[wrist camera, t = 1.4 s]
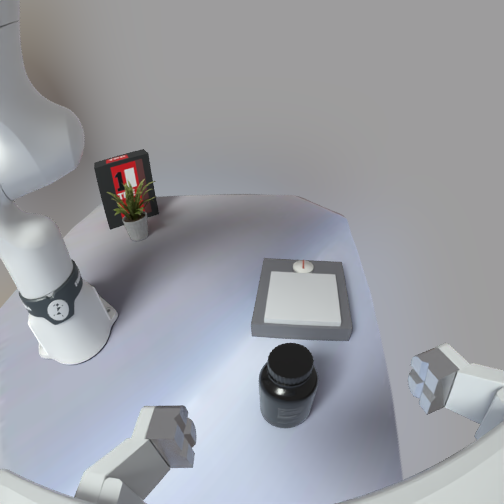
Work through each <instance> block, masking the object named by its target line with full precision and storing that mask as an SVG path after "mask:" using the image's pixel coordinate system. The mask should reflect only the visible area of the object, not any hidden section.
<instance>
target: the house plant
mask: <svg viewBox="0 0 504 504" xmlns="http://www.w3.org/2000/svg"><path fill="white" fill-rule="evenodd" d="M144 180H145V179H144ZM144 180H142V181H141V183H140V184H139V186H138V189H137V191H136V196H135V198H134V194H133V191H134V190H135V189H134V190H133V189H132V186H131V184H130V182H129V181H128V179H127V181H128V184H129V187H128V185H127V183H125V185H124V184H123V185H124V187H125V195H126V204H127V206H126V205H125V204H124V202H123V201H122V200H121V199H120V198H119V197H118V196H117V195H115V194H112V193H110V192H107V193H109V194H111V195H112V196H113V197H114V198H116V199H117V200H118V201H117V200H115V199H113V200H115V201H117V202H118V203H117V202H116V203H117V204H118V207H119V208H120V209H119V208H116V209H114V211H117V212H116V214H119V213H122V214H124V215H125V216H124V217H123V219H122V221H123V223H124V225H125V227H126V229H127V232H128V234H129V236H130V238H131V240H132V241H141V240H143V239H145V238H146V237H147V236H148V223H147V213H146V212H145V211H143V209H144V208H145V206H146V205H147V203H148V202H149V201H150V200H151V199H152V198H151V199H146V200H144V201H142V199H141V198H140V196H141V194H142V192H143V190H144V189H145V188H146V187H147V186H148V185H149V184H150V183H153V182H150V183H148V184H147V185H146V186H145V187H144V188H143V189H142V191H141V192H140V190H141V188H142V185H143V184H144V183H143V181H144ZM154 182H155V181H154ZM149 190H152V189H149ZM149 190H147V191H146V192H148V191H149ZM146 192H145V193H144V195H145V194H146ZM144 195H143V196H144ZM142 198H143V197H142ZM153 198H155V197H153ZM111 199H112V198H111ZM134 199H135V202H134ZM148 200H149V201H148ZM140 201H142V202H140ZM146 201H148V202H147V203H146V204H145V206H144V207H141V205H142V204H143V203H144V202H146ZM153 201H154V200H153ZM119 203H120V204H121V205H122V206H123V207H124V208H125V209H126V210H127V211H128V212H129V213H128V212H127V211H126V210H125V209H124V208H123V207H122V206H121V205H120V204H119ZM139 203H141V204H139ZM140 207H141V208H140ZM116 214H115V215H116Z"/></svg>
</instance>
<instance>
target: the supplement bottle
mask: <svg viewBox="0 0 504 504" xmlns="http://www.w3.org/2000/svg"><path fill="white" fill-rule="evenodd" d="M313 362H314V360H313V356H312V354H311V353H310V351H309V350H308V349H307V348H306V347H304V346H303V345H300V344H296V343H285V344H281V345H278V347H275V349H273V350H272V352H271V353H270V355H269V356H268V362H267V363H266V364H265V365H264V366H263V367H262V369H261V371H260V374H259V395H260V409H261V413H262V415H263V417H264V419H265V420H266V421H267V422H268V423H270V424H271V425H273V426H275V427H279V428H291V427H295V426H297V425H299V424H301V423H302V422H303V421H305V419H306V418H307V417H308V415H309V413H310V410H311V407H312V404H313V400H314V397H315V394H316V390H317V386H318V381H319V377H318V372H317V370H316V368H315V366H314V365H313Z"/></svg>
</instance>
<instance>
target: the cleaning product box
mask: <svg viewBox="0 0 504 504" xmlns="http://www.w3.org/2000/svg"><path fill="white" fill-rule="evenodd" d="M94 169H95V173H96V178H97V182H98V186H99V190H100V194H101V198H102V202H103V206H104V210H105V213H106V217H107V221H108V224H109V227H110V229H113V228H116V227H119V226H122V225H124V223H123V221H122V219H123V217H124V216H125V215H124V214H122V213H119V214H116V212H117V211H114V209H116V208H119V207H118V204H117V203H118V202H117V201H118V200H117V199H116V198H114V197H113V196H112V195H111V194H109V193H107V192H110V193H112V194H115V195H117V196H118V197H119V198H120V199H121V200H122V201H123V202H124V204H125V205H126V206H127V204H126V195H125V187H124V185H125V183H127V185H128V187H129V184H128V181H129V182H130V184H131V186H132V189H133V190H134V189H135V190H134V191H133V194H134V198H135V196H136V191H137V189H138V186H139V184H140V183H141V181H142V180H144V179H145V180H144V181H143V183H144V184H143V185H142V188H141V190H140V192H141V191H142V189H143V188H144V187H145V186H146V185H147V184H148V183H150V182H153V180H152V174H151V169H150V162H149V156H148V153H147V152H146V151H145V150H144V149H143V150H139V151H135V152H130V153H127V154H123V155H120V156H116V157H112V158H109V159H106V160H102V161H99V162H96V163H95V167H94ZM127 179H128V181H127ZM123 184H124V185H123ZM149 189H152V190H149ZM147 190H149V191H148V192H146V191H147ZM145 192H146V194H145V195H144V193H145ZM143 195H144V196H143ZM142 197H143V198H142ZM153 197H155V198H153ZM111 198H112V199H111ZM140 198H141V199H142V201H144V200H146V199H151V198H152V199H151V200H150V201H149V200H148V201H149V202H148V201H146V202H144V203H143V204H142V205H141V207H144V206H145V204H146V203H147V202H148V203H147V205H146V206H145V208H144V209H143V211H145V212H146V213H147V218H148V217H151V216H154V215H157V214H159V212H158V207H157V202H156V196H155V191H154V186H153V183H150V184H149V185H148V186H147V187H146V188H145V189H144V190H143V192H142V194H141V196H140ZM113 199H115V200H117V201H115V200H113ZM153 200H154V201H153ZM142 201H140V202H142ZM116 202H117V203H116ZM134 202H135V199H134ZM119 204H120V203H119ZM139 204H141V203H139ZM120 205H121V204H120ZM121 206H122V205H121ZM122 207H123V206H122ZM141 207H140V208H141ZM123 208H124V207H123ZM119 209H120V208H119ZM124 209H125V208H124ZM125 210H126V209H125ZM126 211H127V210H126ZM127 212H128V211H127ZM128 213H129V212H128ZM115 214H116V215H115Z"/></svg>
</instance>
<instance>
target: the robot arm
mask: <svg viewBox="0 0 504 504" xmlns="http://www.w3.org/2000/svg"><path fill="white" fill-rule="evenodd" d="M19 3H20V1H19V0H0V258H1V260H2V261H3V263H4V265H5V266H6V268H7V270H8V272H9V274H10V275H11V277H12V279H13V281H14V282H15V284H16V286H17V288H18V290H19V296H20V298H21V300H22V303H23V305H24V306H25V307H26V309H27V310H28V312H29V318H28V319H29V321H28V324H29V327H30V328H31V330H32V332H33V333H34V335H35V337H36V338H37V340H38V341H39V354H40V355H41V357H42V358H44V359H54V360H56V361H57V362H59V363H62V364H67V365H72V364H78V363H81V362H84V361H86V360H88V359H90V358H91V357H93V356H94V355H95V354H97V353H98V352H99V351H100V350H101V349H102V347H103V346H104V345H105V343H106V341H107V339H108V337H109V334H110V330H111V326H112V325H113V323H114V322H115V320H116V319H117V317H118V313H117V311H116V310H115V309H114V308H113V307H112V306H111V305H110V304H108V303H107V302H106V301H105V300H104V299H103V298H102V297H101V296H100V295H99V294H98V293H97V291H96V289H95V288H94V287H91V285H90V284H89V283H87V282H86V281H85V280H83V279H82V277H81V275H80V271H79V269H78V267H77V265H76V264H75V262H74V261H73V260H72V259H71V258H70V255H69V253H68V250H67V248H66V245H65V242H64V240H63V237H62V234H61V231H60V229H59V227H58V225H57V224H56V222H55V221H53V220H52V219H51V218H49V217H48V216H45V215H42V214H35V213H28V212H25V211H24V210H22V209H21V208H19V207H18V206H17V205H16V203H15V201H14V200H15V199H17V198H19V197H21V196H24V195H26V194H28V193H30V192H33V191H35V190H37V189H40V188H42V187H45V186H47V185H50V184H51V183H53V182H55V181H56V180H58V179H59V178H61V177H63V176H64V175H66V174H68V173H69V172H71V171H72V170H74V169H75V168H76V167H77V166H78V164H79V162H80V160H81V157H82V153H83V150H84V142H85V141H84V131H83V127H82V124H81V122H80V120H79V119H78V117H77V116H76V115H75V114H74V113H73V112H72V111H71V110H69V109H68V108H66V107H63V106H60V105H57V104H55V103H53V102H51V101H49V100H48V99H46V98H45V97H43V96H42V95H41V94H40V93H39V92H38V91H37V90H36V89H35V88H34V86H33V85H32V83H31V82H30V80H29V78H28V76H27V74H26V71H25V68H24V63H23V57H22V51H21V41H20V22H18V21H19V20H20V4H19ZM411 366H412V367H413V369H412V370H411V372H410V373H409V377H408V385H409V389H410V391H411V393H412V394H413V396H415V397H417V398H420V400H419V404H420V406H421V407H422V409H423V410H424V411H425V413H426V414H427V415H428V414H430V413H432V412H434V411H436V410H439V409H441V408H443V407H445V408H447V409H449V410H451V411H453V412H455V413H457V414H460V415H461V416H464V417H466V418H468V419H470V420H472V421H474V422H476V423H479V424H480V426H479V428H478V430H477V431H476V433H475V438H476V439H477V440H476V441H475V442H473V443H471V444H470V445H468V446H467V447H465V448H463V449H462V450H460V451H459V452H457V453H455V454H454V455H452V456H450V457H448V458H447V459H445V460H443V461H442V462H439V463H438V464H436V465H434V466H432V467H430V468H428V469H426V470H424V471H422V472H420V473H418V474H416V475H414V476H411V477H409V478H407V479H404V480H402V481H400V482H397V483H395V484H393V485H390V486H388V487H385V488H382V489H380V490H377V491H374V492H371V493H368V494H365V495H362V496H359V497H356V498H353V499H350V500H346V501H343V502H339V503H335V504H504V370H499V369H495V368H491V367H487V366H483V365H479V364H475V363H472V364H469V363H468V362H467V361H466V360H465V359H464V358H463V357H462V356H461V355H460V354H459V353H458V352H457V351H456V350H454V349H453V348H452V347H451V346H450V345H449V344H447V343H444V344H442V345H440V346H438V347H435V348H433V349H430V350H428V351H426V352H423V353H421V354H418V355H416V356H414V357H413V358H412V361H411ZM187 417H188V411H187V409H186V407H185V406H144V407H142V409H141V411H140V414H139V417H138V419H137V422H136V425H135V428H134V431H133V434H132V437H131V438H127V439H126V440H124V441H123V442H122V443H121V444H119V445H118V446H117V447H116V448H114V449H113V450H112V451H110V452H109V453H108V454H107V455H105V456H104V457H103V458H101V459H100V460H99V461H97V462H96V463H95V464H93V465H92V466H91V467H89V468H88V469H87V470H85V471H84V473H83V476H82V478H81V481H80V483H79V486H78V489H77V491H76V494H75V496H74V497H72V496H69V495H66V494H63V493H60V492H57V491H55V490H52V489H49V488H47V487H44V486H42V485H40V484H37V483H35V482H33V481H30V480H28V479H26V478H24V477H22V476H20V475H18V474H16V473H14V472H12V471H10V470H7V469H0V504H147V503H145V502H144V501H143V500H144V499H145V498H146V497H147V496H148V494H149V493H150V492H151V491H152V490H153V489H154V488H155V487H156V485H157V484H158V483H159V482H160V481H161V480H162V478H163V477H164V476H165V475H166V474H167V472H168V471H169V470H170V468H193V463H194V455H195V453H194V451H193V450H192V447H193V446H194V445H195V444H196V429H195V426H194V423H193V421H192V420H191V419H189V418H187Z"/></svg>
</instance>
